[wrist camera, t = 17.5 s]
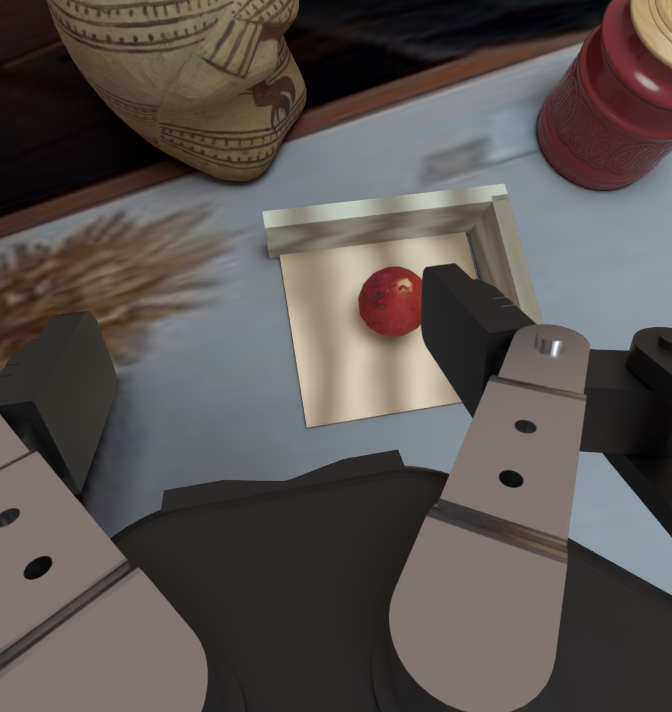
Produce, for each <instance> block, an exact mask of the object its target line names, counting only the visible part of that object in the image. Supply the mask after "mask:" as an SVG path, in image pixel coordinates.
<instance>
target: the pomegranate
mask: <svg viewBox="0 0 672 712" xmlns="http://www.w3.org/2000/svg"><path fill="white" fill-rule="evenodd" d="M421 298H422V279H421V278H420V277H419V276H418V275H416V274H415V273H414V272H413V271H411V270H409V269H406V268H403V267H399V266H394V267H386V268H384V269H381V270H379V271H377V272H374V273H373V274H372V275H371V276H370V277H369V278H368V279H367V280H366V282H365V283H364V284H363V286H362V289H361V292H360V295H359V297H358V302H359V311H360V316H361V317H362V319H363V320H364V322H365V323H366V325H367V327H369V328H370V329H372V330H374V331H375V332H377V333H378V334H381V335H385V336H389V337H396V336H404V335H406V334H408V333H410V332H411V331H413V330H415V329H417V328H418V327H419V326H420V325H421Z"/></svg>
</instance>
